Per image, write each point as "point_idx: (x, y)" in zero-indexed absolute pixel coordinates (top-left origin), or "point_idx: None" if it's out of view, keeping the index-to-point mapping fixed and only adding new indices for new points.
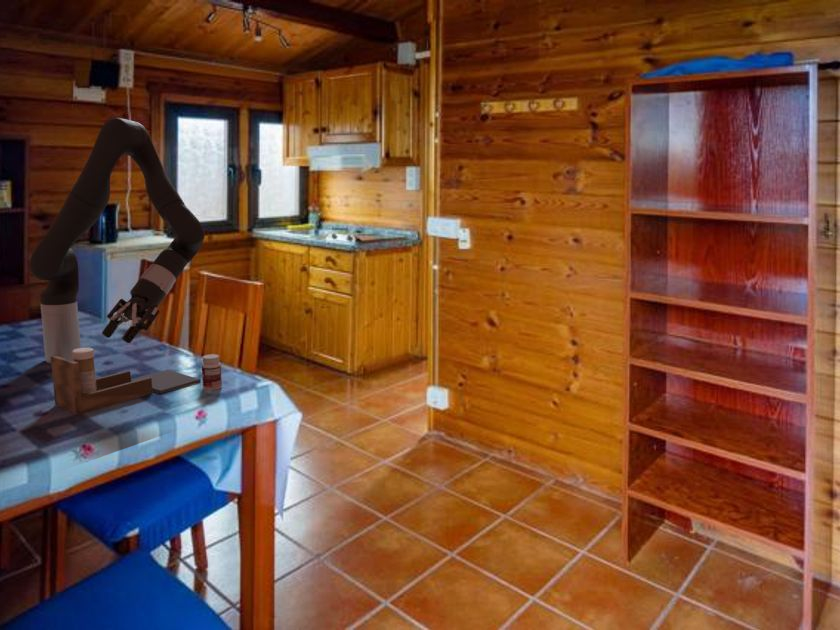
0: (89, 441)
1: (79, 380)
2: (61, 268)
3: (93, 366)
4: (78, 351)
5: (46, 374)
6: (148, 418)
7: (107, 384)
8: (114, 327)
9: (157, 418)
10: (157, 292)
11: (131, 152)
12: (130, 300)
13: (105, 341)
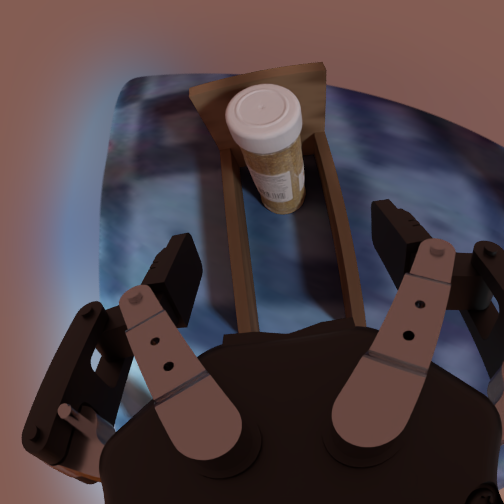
0: (111, 151)
1: (206, 126)
2: None
3: (249, 162)
4: (246, 92)
5: None
6: (116, 254)
7: (340, 259)
8: (396, 270)
9: (106, 266)
10: None
11: None
12: (463, 472)
13: None
